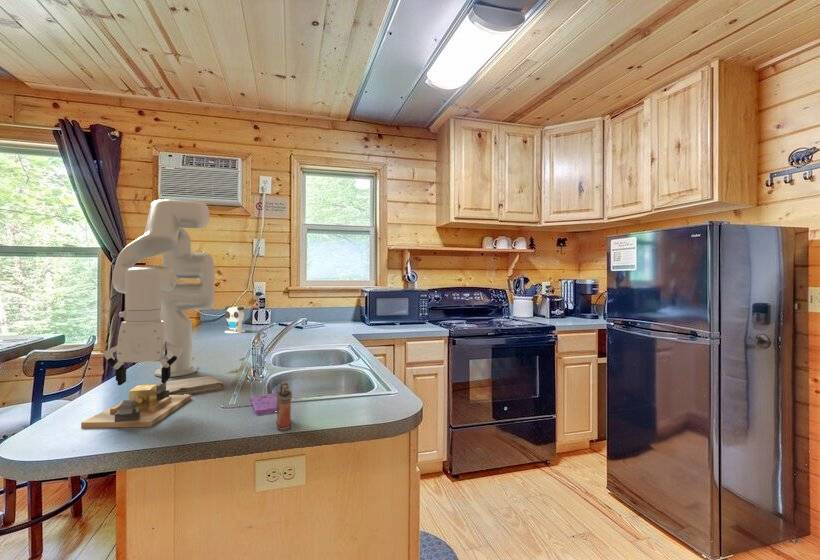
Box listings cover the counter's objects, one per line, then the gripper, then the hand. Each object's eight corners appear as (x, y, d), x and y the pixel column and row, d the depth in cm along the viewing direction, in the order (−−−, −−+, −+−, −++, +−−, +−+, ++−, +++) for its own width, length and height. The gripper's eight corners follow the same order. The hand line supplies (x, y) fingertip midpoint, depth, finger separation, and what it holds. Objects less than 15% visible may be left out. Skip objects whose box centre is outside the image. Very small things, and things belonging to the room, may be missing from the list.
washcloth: (148, 392, 118) (148, 381, 118) (212, 381, 130) (213, 372, 130) (156, 402, 109) (157, 391, 109) (225, 390, 121) (225, 380, 121)
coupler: (146, 412, 97) (146, 392, 96) (125, 413, 95) (125, 393, 95) (159, 400, 105) (159, 382, 105) (140, 402, 104) (140, 383, 104)
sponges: (276, 399, 114) (276, 392, 114) (284, 412, 103) (284, 405, 103) (250, 402, 111) (250, 395, 110) (255, 417, 99) (255, 409, 99)
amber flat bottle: (275, 420, 96) (276, 379, 96) (290, 418, 98) (290, 378, 97) (276, 432, 89) (277, 388, 89) (292, 430, 90) (293, 387, 90)
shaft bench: (134, 399, 109) (134, 381, 109) (190, 399, 111) (191, 380, 111) (80, 428, 89) (80, 405, 89) (150, 426, 91) (150, 404, 91)
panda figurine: (219, 332, 231) (219, 306, 231) (234, 329, 242) (235, 305, 241) (234, 333, 226) (234, 307, 226) (249, 331, 237) (249, 306, 237)
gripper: (96, 318, 94) (96, 389, 95) (177, 317, 99) (177, 385, 100) (110, 314, 101) (111, 380, 102) (185, 313, 106) (185, 376, 107)
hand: (143, 382), depth 101 cm, fingers open, 9 cm apart
